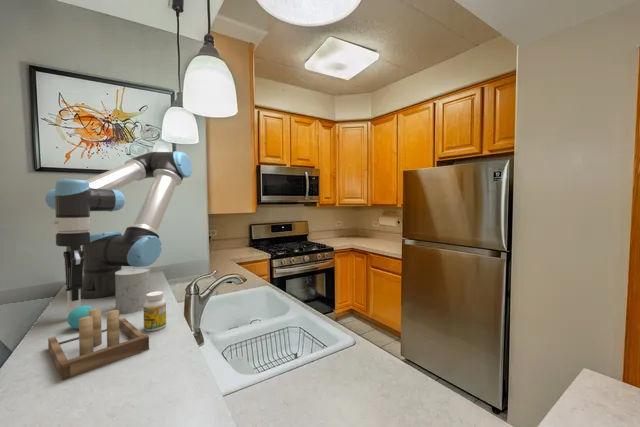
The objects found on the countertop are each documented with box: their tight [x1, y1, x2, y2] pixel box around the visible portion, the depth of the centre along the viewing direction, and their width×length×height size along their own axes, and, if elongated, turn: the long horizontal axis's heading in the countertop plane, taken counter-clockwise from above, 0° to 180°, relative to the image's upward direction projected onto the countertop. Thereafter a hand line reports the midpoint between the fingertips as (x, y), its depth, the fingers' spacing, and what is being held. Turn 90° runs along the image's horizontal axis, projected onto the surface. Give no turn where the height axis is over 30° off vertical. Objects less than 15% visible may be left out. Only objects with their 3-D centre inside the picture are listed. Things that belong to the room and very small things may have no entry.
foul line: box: [58, 328, 107, 345], centre depth 71 cm, size 1×13×1 cm, turn 141°
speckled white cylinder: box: [115, 267, 151, 315], centre depth 90 cm, size 10×10×12 cm
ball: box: [67, 305, 95, 330], centre depth 76 cm, size 6×6×6 cm
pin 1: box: [78, 316, 94, 356], centre depth 62 cm, size 2×2×8 cm
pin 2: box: [105, 309, 120, 348], centre depth 66 cm, size 2×2×8 cm
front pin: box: [88, 308, 103, 348], centre depth 67 cm, size 2×2×8 cm
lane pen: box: [47, 317, 150, 381], centre depth 65 cm, size 18×15×3 cm
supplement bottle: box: [143, 290, 167, 332], centre depth 76 cm, size 5×5×10 cm
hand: (74, 310), depth 81 cm, fingers closed
